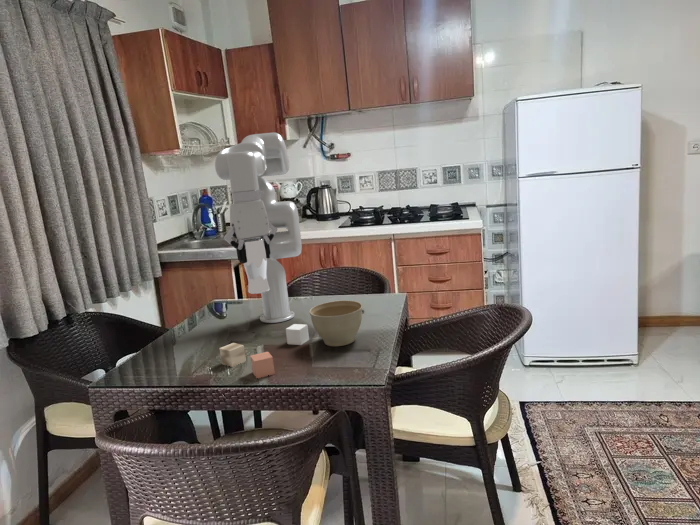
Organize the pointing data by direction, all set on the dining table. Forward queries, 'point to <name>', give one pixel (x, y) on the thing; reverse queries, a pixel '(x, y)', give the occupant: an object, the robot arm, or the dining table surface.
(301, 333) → the cream block
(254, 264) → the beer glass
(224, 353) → the beech block
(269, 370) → the rust block
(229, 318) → the dining table surface
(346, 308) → the planter bowl
